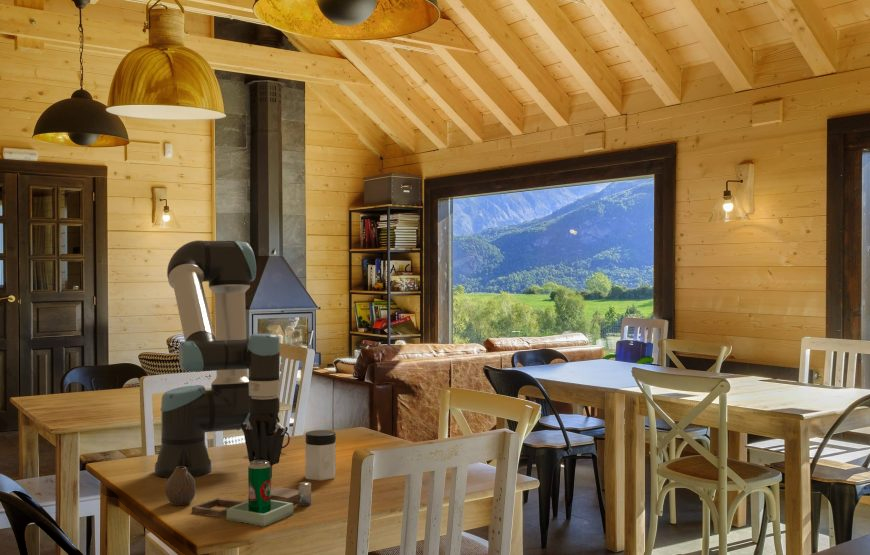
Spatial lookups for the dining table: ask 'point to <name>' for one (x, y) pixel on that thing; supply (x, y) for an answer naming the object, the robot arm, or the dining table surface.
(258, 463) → the soda can
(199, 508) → the brown square frame
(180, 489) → the vase
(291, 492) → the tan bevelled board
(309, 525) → the dining table surface
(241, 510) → the tray
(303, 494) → the salt shaker
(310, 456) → the jar
